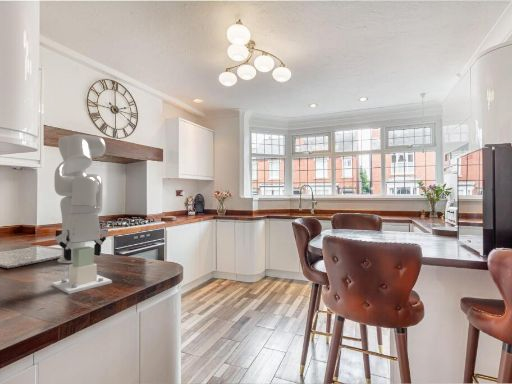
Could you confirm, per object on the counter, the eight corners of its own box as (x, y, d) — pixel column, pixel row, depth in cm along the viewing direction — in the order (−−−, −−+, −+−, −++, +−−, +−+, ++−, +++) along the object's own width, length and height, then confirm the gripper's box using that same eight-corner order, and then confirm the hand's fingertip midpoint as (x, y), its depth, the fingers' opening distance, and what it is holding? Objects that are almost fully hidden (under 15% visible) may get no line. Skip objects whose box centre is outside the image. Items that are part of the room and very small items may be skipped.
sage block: (72, 265, 99) (72, 248, 99) (87, 262, 103) (87, 246, 103) (78, 267, 96) (78, 250, 96) (93, 264, 100) (94, 248, 100)
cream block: (68, 281, 99) (69, 265, 99) (88, 277, 104) (88, 261, 104) (76, 285, 95) (77, 268, 95) (96, 280, 100) (96, 264, 100)
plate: (52, 285, 98) (52, 280, 98) (93, 275, 109) (93, 271, 109) (69, 294, 90) (69, 288, 90) (112, 282, 101) (112, 278, 101)
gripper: (103, 209, 109) (102, 252, 109) (51, 211, 95) (50, 260, 94) (113, 209, 104) (112, 254, 104) (60, 212, 90) (59, 264, 90)
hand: (83, 257), depth 99 cm, fingers open, 9 cm apart
